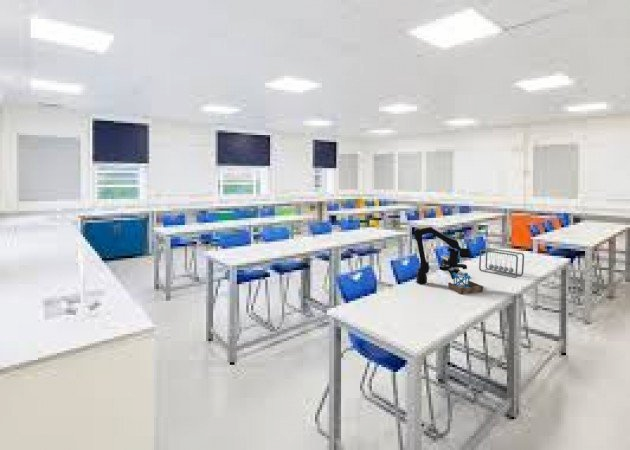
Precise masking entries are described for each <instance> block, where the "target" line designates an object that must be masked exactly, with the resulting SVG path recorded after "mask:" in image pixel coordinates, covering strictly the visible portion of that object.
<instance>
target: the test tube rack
mask: <svg viewBox="0 0 630 450" xmlns="http://www.w3.org/2000/svg"><path fill="white" fill-rule="evenodd" d="M440 257H441V258H442V260H444V259H445V260H448V258H449V255H447V254H446V253H443V255H440ZM442 265H444V264H442ZM446 266H448V265H446ZM441 271H442V272H444V273H445V274H447V275H448V276H450V277H451V275H450V272H449V271H443V270H441Z"/></svg>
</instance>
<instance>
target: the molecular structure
mask: <svg viewBox="0 0 630 450" xmlns="http://www.w3.org/2000/svg"><path fill="white" fill-rule="evenodd" d="M453 275H454V279H453V282H452V284H454V285H457V286H459V287H461V286H463V287H469V281H470V279H471V278H472V277H471V275H469V273H468V272H464V273H457V274H456V273H455V272H454V273H453ZM458 280H459V281H458ZM464 281H465V282H464ZM467 281H468V285H467Z"/></svg>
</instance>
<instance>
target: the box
mask: <svg viewBox="0 0 630 450" xmlns="http://www.w3.org/2000/svg"><path fill="white" fill-rule="evenodd" d="M466 284H467V285H468V280H466ZM447 289H448V290H450V291H453V292H455V293H457V294H459V295H469V294H479V293H483V292H484V286H483V285H481V284H479V283H477V282H474V281H471V280H469V287H465V286H463V287H461V286H457V285H454V284H453V282H448V283H447Z"/></svg>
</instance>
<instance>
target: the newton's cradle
mask: <svg viewBox="0 0 630 450" xmlns="http://www.w3.org/2000/svg"><path fill="white" fill-rule="evenodd" d="M482 252H485V265H484V266H485V267H484V268H485V269H481V267H482V266H481V265H482ZM488 253H489V254H490V258H491V259H493V257H494V256H492V255H491V253H492V254H497V255H496V258H498V256H499V255H501V257H504V256H503V255H505V256H506V257H508V256H512V259H513V256H514V257H515V270H514V268H513V267H512V264H513V263H512V262H509V264H510V266H509V268H508V267H507V265H504V266H503V265H502V262H503V260H500V263H499V264H500V265H497V259H494V261H495V264H492V262H490V264H488ZM498 254H499V255H498ZM519 255H521V256H522V260H521V262H522V263H521V273H518V266H519V265H518V263H519ZM491 256H492V257H491ZM478 260H479V263H478V269H479V271H480V272H483V273H489V274H494V275H499V276H503V277H509V278H513V279H515V278H517V277H519V276H520V277H521V276H524V269H525V254H524V253H523V252H518V251H512V250H505V249H498V248H497V249H496V248H489V247H488V248H486V249H485V248H484V249H480V250H479V259H478ZM507 262H508V260H505V264H507ZM488 270H489V271H488ZM514 271H515V273H514Z"/></svg>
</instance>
